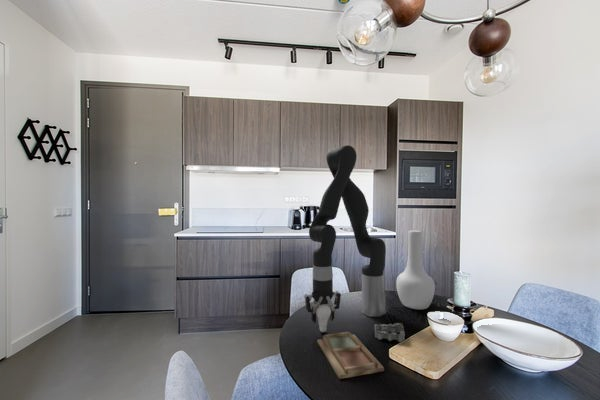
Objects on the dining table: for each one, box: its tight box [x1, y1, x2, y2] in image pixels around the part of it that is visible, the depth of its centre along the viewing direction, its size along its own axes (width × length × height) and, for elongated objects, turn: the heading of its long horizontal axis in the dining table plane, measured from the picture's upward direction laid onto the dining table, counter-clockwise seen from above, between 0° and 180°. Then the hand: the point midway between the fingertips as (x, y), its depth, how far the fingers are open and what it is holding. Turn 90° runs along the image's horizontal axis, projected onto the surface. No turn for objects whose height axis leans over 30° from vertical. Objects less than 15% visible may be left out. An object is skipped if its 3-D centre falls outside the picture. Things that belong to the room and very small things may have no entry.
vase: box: [396, 229, 436, 310], centre depth 128 cm, size 17×17×35 cm
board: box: [316, 331, 385, 380], centre depth 88 cm, size 14×20×2 cm
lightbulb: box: [316, 304, 331, 333], centre depth 102 cm, size 6×6×11 cm
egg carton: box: [374, 322, 406, 343], centre depth 100 cm, size 11×8×4 cm
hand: (322, 320), depth 102 cm, fingers closed on lightbulb, 6 cm apart
